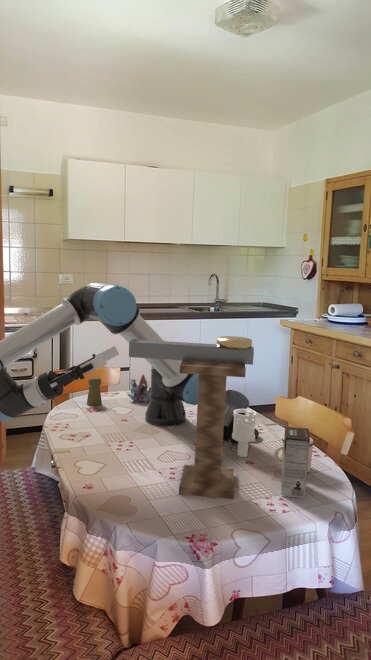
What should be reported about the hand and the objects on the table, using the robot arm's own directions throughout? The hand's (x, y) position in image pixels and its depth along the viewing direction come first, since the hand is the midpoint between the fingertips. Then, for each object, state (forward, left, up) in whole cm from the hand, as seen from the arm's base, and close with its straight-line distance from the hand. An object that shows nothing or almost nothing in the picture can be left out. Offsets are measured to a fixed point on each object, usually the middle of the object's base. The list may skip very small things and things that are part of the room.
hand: (111, 354), depth 136 cm
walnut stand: (-20, +20, -33) cm, 43 cm away
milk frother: (-49, -5, -32) cm, 59 cm away
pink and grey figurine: (-43, -58, -34) cm, 80 cm away
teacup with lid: (-48, +24, -34) cm, 63 cm away
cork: (-24, -61, -34) cm, 74 cm away
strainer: (-42, +9, -34) cm, 54 cm away
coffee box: (-38, +34, -34) cm, 61 cm away
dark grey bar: (-15, +16, +1) cm, 22 cm away
